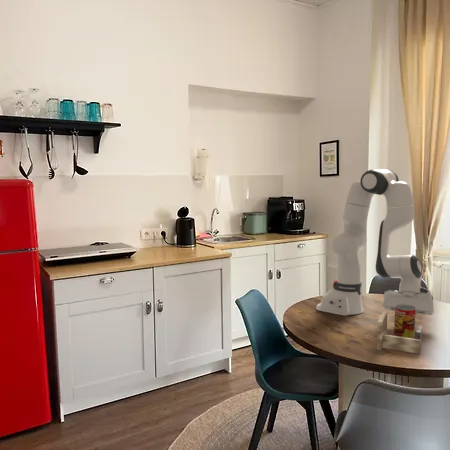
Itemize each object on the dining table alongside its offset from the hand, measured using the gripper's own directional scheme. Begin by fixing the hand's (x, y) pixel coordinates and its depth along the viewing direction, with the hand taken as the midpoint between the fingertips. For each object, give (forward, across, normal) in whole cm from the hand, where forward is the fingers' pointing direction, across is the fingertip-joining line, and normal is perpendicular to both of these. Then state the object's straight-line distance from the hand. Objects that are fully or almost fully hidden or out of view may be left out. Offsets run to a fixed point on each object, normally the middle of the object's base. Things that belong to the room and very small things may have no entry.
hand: (406, 320), depth 185 cm
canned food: (+8, 0, -1) cm, 8 cm away
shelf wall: (+18, 0, -11) cm, 21 cm away
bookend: (+15, +6, -9) cm, 18 cm away
